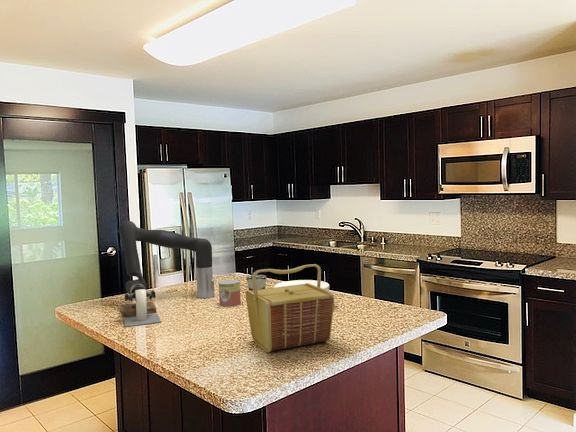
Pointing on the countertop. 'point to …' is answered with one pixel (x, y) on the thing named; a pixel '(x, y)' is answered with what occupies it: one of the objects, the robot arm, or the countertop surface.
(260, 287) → the food container
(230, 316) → the countertop surface
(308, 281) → the plate stack
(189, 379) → the countertop surface
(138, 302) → the cream cylinder
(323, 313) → the picnic basket
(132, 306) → the walnut holder
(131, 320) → the grey mat
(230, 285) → the canned food
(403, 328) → the countertop surface
